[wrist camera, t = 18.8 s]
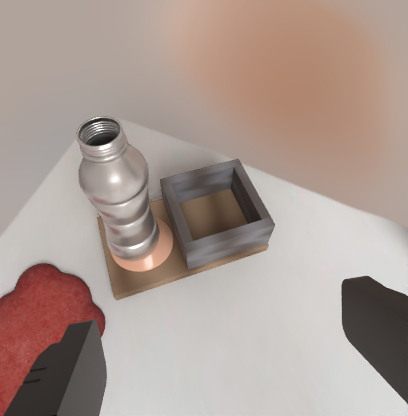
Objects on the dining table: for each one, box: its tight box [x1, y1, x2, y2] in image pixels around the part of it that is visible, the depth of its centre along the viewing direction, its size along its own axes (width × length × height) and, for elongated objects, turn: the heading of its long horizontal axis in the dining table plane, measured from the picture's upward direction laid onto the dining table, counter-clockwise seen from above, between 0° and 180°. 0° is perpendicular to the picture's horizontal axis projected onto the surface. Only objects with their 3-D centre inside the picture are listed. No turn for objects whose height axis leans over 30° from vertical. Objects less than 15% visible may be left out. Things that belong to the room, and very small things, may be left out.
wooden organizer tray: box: [97, 159, 275, 300], centre depth 43 cm, size 21×12×6 cm, turn 110°
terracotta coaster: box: [110, 216, 173, 272], centre depth 43 cm, size 8×8×1 cm
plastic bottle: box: [77, 116, 160, 261], centre depth 34 cm, size 6×7×20 cm
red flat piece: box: [0, 264, 105, 416], centre depth 37 cm, size 18×14×2 cm
